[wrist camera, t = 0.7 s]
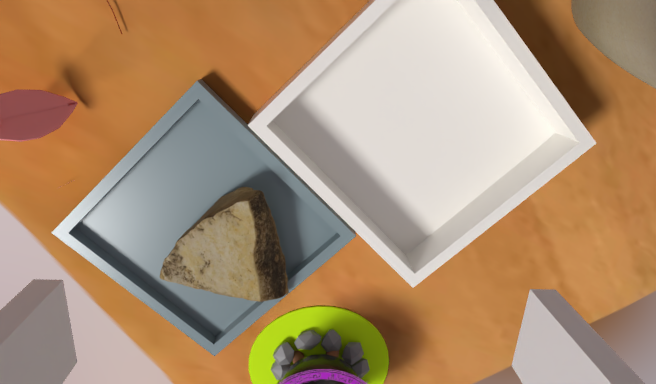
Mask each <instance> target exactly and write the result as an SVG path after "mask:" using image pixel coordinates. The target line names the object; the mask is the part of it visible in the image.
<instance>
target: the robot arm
mask: <svg viewBox="0 0 656 384" xmlns="http://www.w3.org/2000/svg"><path fill="white" fill-rule="evenodd" d="M76 363H77V359H76V353H75V347H74V341H73V335H72V330H71V324H70V318H69V312H68V306H67V301H66V296H65V290H64V284H63V280H35V279H34V280H33V281H32V282H31V283H29V284H28V285H27V286H26V287H25V288H24V289H23V290H22V291H21V292H20V293H19V294H17V296H15V297H14V298H13V299H12V300H11V301H10V302H9V303H8V304H7V305H6V306H5V307H4V308H2V309H1V310H0V384H62V383H63V381H64V380H65V379H66V377H67V376H68V374H69V373H70V372H71V370H72V369H73V367H74V366H75V364H76ZM512 367H513V368H514V370H515V372H516V373H517V375H518V376H519V378H520V380H521V382H522V383H523V384H645V383H644V382H643V381H642V380H641V379H640V378H639V377H638V376H637V375H636V374H635V372H634V371H633V370H632V369H631V368H630V367H629V366H628V365H627V364H626V363H625V362H624V361H623V360H622V359H621V358H620V357H619V356H618V355H617V354H616V353H615V352H614V350H613V349H612V348H611V347H610V346H609V345H608V344H607V343H606V342H605V341H604V340H603V339H602V338H601V337H600V336H599V335H598V334H597V333H596V332H595V331H594V330H593V328H592V327H590V325H589V324H588V323H587V322H586V321H585V320H584V319H583V318H582V317H581V316H580V315H579V314H578V313H577V312H576V311H575V310H574V309H573V308H572V306H571V305H570V304H569V303H568V302H567V301H566V300H565V299H564V298H563V297H562V296H561V295H560V294H559V293H558V292H557V291H556V290H542V289H530V292H529V296H528V300H527V304H526V308H525V313H524V317H523V321H522V325H521V329H520V333H519V337H518V342H517V346H516V350H515V354H514V358H513V362H512Z"/></svg>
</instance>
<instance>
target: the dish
mask: <svg viewBox="0 0 656 384" xmlns="http://www.w3.org/2000/svg"><path fill="white" fill-rule="evenodd" d="M248 126H249V127H250V128H251V129H252V130H253V131H254V132H255V133H256V134H257V135H258V136H259V137H260V138H261V139H262V140H263V141H264V142H265V143H266V144H267V145H268V146H269V147H270V148H271V149H272V150H273V151H274V152H275V153H276V154H277V155H278V156H279V157H280V158H281V159H282V160H283V161H284V162H285V163H286V164H287V165H288V166H289V167H290V168H291V169H292V170H293V171H294V172H295V173H296V174H297V175H298V176H299V177H301V178H302V179H303V180H304V181H305V182H306V183H307V184H308V185H309V186H310V187H311V188H312V189H313V190H314V191H315V192H316V193H317V194H318V195H319V196H320V197H321V198H322V199H323V200H324V201H325V202H326V203H327V204H328V205H329V206H330V207H331V208H332V209H333V210H334V211H335V212H336V213H337V214H338V215H339V216H340V217H341V218H342V219H343V220H344V221H345V222H346V223H347V224H348V225H349V226H350V227H351V228H353V229H354V230H355V231H356V232H357V233H358V234H359V235H360V236H361V237H362V238H363V239H364V240H365V241H366V242H367V243H368V244H369V245H370V246H371V247H372V248H373V249H374V250H375V251H376V252H377V253H378V254H379V255H380V256H381V257H382V258H383V259H384V260H385V261H386V262H387V263H388V264H389V265H390V266H391V267H392V268H393V269H394V270H395V271H396V272H397V273H398V274H399V275H400V276H401V277H402V278H404V279H405V280H406V281H407V282H408V283H409V284H410V285H411V286H412V287H415V286H416V285H417V284H419V283H420V282H421V281H422V280H424V279H425V278H426V277H427V276H429V275H430V274H431V273H432V272H434V271H435V270H436V269H438V268H439V267H440V266H441V265H443V264H444V263H445V262H446V261H448V260H449V259H450V258H452V257H453V256H454V255H455V254H457V253H458V252H459V251H460V250H462V249H463V248H464V247H465V246H467V245H468V244H469V243H471V242H472V241H473V240H474V239H476V238H477V237H478V236H479V235H481V234H482V233H483V232H484V231H486V230H487V229H488V228H490V227H491V226H492V225H493V224H495V223H496V222H497V221H498V220H500V219H501V218H502V217H504V216H505V215H506V214H507V213H509V212H510V211H511V210H512V209H514V208H515V207H516V206H517V205H519V204H520V203H521V202H523V201H524V200H525V199H526V198H528V197H529V196H530V195H531V194H533V193H534V192H535V191H536V190H538V189H539V188H540V187H542V186H543V185H544V184H545V183H547V182H548V181H549V180H550V179H552V178H553V177H554V176H556V175H557V174H558V173H559V172H561V171H562V170H563V169H564V168H566V167H567V166H568V165H569V164H571V163H572V162H573V161H575V160H576V159H577V158H578V157H580V156H581V155H582V154H583V153H585V152H586V151H587V150H588V149H590V148H591V147H592V146H594V145H595V144H596V142H595V141H594V139H593V138H592V136H591V135H590V134H589V132H588V131H587V129H586V128H585V127H584V125H583V124H582V122H581V121H580V120H579V118H578V117H577V115H576V114H575V113H574V111H573V110H572V109H571V107H570V106H569V104H568V103H567V102H566V100H565V99H564V97H563V96H562V95H561V93H560V92H559V90H558V89H557V88H556V86H555V85H554V83H553V82H552V81H551V79H550V78H549V77H548V75H547V74H546V72H545V71H544V70H543V68H542V67H541V65H540V64H539V63H538V61H537V60H536V58H535V57H534V56H533V54H532V53H531V51H530V50H529V49H528V47H527V46H526V45H525V43H524V42H523V40H522V39H521V38H520V36H519V35H518V33H517V32H516V31H515V29H514V28H513V26H512V25H511V24H510V22H509V21H508V19H507V18H506V17H505V15H504V14H503V13H502V11H501V10H500V8H499V7H498V6H497V4H496V3H495V1H494V0H370V1H369V2H368V3H367V4H366V5H365V6H364V7H363V8H362V9H361V10H360V11H359V12H358V13H357V14H356V15H355V16H354V17H353V18H352V19H351V20H349V21H348V22H347V23H346V24H345V25H344V26H343V27H342V28H341V29H340V30H339V31H338V32H337V33H336V34H335V35H334V36H333V37H332V38H331V39H330V40H329V41H328V42H327V43H326V44H325V45H324V46H323V47H322V48H321V49H320V50H319V51H318V52H317V53H316V54H315V55H314V56H313V57H312V58H311V59H310V60H309V61H308V62H307V63H306V64H305V65H304V66H303V67H302V68H301V69H300V70H299V71H298V72H297V73H296V74H295V75H294V76H293V77H292V78H290V79H289V80H288V81H287V82H286V83H285V84H284V85H283V86H282V87H281V88H280V89H279V90H278V91H277V92H276V93H275V94H274V95H273V96H272V97H271V98H270V99H269V100H268V101H267V102H266V103H265V104H264V105H263V106H262V107H261V108H260V109H259V110H258V111H257V112H256V113H255V114H254V115H253V117H252V119H251V120H250V122H249V124H248Z"/></svg>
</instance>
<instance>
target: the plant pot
mask: <svg viewBox="0 0 656 384" xmlns="http://www.w3.org/2000/svg"><path fill="white" fill-rule="evenodd" d="M572 13H573V18H574V21H575V23H576V25H577V27H578V28H579V30H580V31H581V32H582V33H583V35H584V36H585V37H586V38H587V39H588V40H589V41H590V42H591V43H592V44H593V45H594V46H595V47H596V48H597V49H598V50H599V51H601V52H602V53H603V54H604V55H605V56H606V57H608V58H609V59H610V60H612V61H613V62H614V63H615V64H617V65H618V66H620V67H621V68H623V69H624V70H626V71H627V72H629V73H630V74H632V75H633V76H635V77H637V78H638V79H640V80H642V81H643V82H645V83H647V84H649V85H650V86H652V87H654V88H656V0H572Z"/></svg>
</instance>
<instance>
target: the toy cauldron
mask: <svg viewBox="0 0 656 384" xmlns="http://www.w3.org/2000/svg"><path fill="white" fill-rule="evenodd" d="M388 366H389V356H388V349H387V346H386V343H385V340H384V339H383V337H382V336H381V334H380V332H379V331H378V330H377V329H376V328H375V327H374V326H373V325H372V324H371V323H370V322H369V321H368V320H366V319H365V318H363V317H362V316H360V315H359V314H356V313H354V312H352V311H349V310H347V309H343V308H338V307H333V306H311V307H303V308H300V309H296V310H293V311H290V312H288V313H286V314H284V315H282V316H280V317H278V318H276V319H275V320H274V321H272V322H271V323H270V324H268V325H267V326H266V327H265V328H264V329H263V330H262V332H261V333H260V334H259V335H258V336H257V338H256V340H255V342H254V344H253V345H252V348H251V352H250V356H249V373H250V377H251V381H252V383H253V384H383V383H384V380H385V378H386V376H387V372H388Z"/></svg>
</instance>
